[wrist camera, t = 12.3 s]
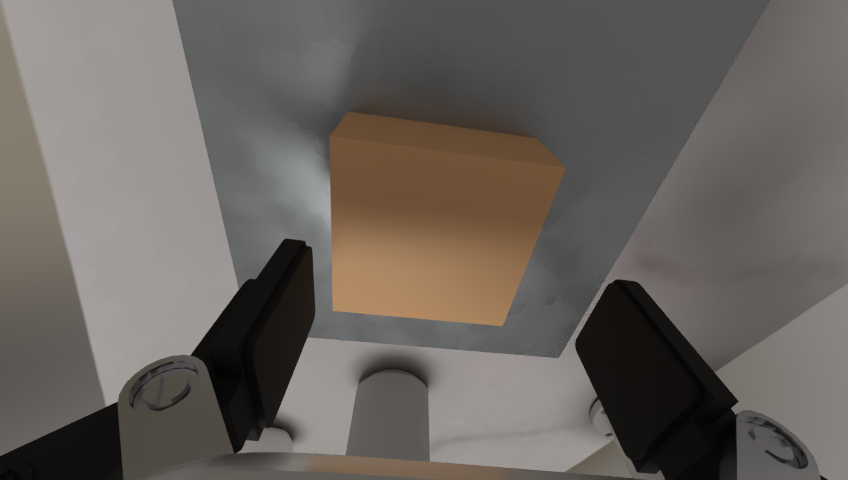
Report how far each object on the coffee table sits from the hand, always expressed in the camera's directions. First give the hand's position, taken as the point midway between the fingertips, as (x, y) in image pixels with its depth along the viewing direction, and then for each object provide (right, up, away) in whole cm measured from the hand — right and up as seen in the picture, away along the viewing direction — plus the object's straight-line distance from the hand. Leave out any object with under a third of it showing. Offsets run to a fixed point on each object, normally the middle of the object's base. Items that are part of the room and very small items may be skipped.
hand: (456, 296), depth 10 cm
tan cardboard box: (-1, +6, +8) cm, 11 cm away
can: (-4, -14, +25) cm, 29 cm away
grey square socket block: (-1, +8, +10) cm, 13 cm away
